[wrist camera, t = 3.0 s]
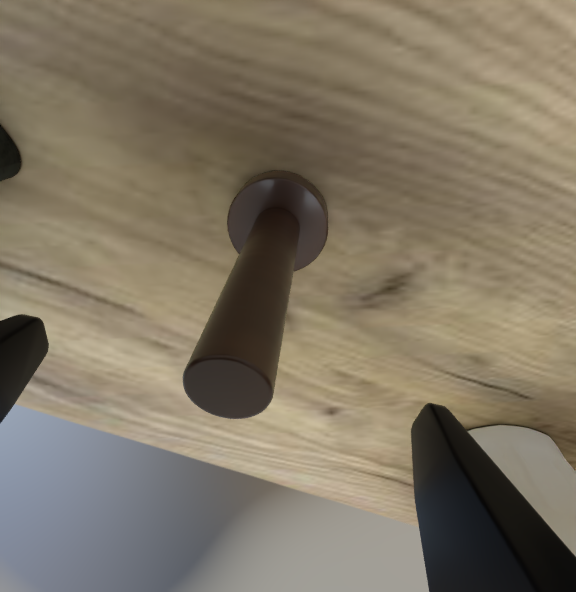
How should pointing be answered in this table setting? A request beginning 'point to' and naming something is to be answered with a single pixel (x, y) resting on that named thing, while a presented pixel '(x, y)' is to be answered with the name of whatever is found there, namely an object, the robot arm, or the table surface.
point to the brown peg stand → (256, 294)
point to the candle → (8, 157)
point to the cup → (535, 474)
